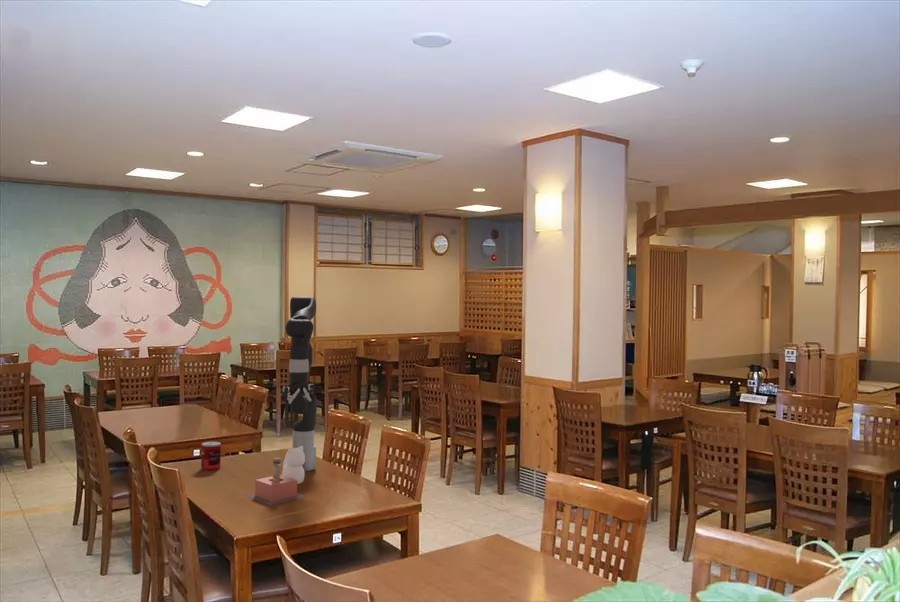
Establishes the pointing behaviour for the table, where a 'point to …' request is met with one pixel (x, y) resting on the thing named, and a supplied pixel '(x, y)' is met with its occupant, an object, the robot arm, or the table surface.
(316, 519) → the table surface
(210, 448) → the canned food
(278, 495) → the pink square peg base
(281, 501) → the mat
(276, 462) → the grey beige cylinder
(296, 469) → the cat figurine
